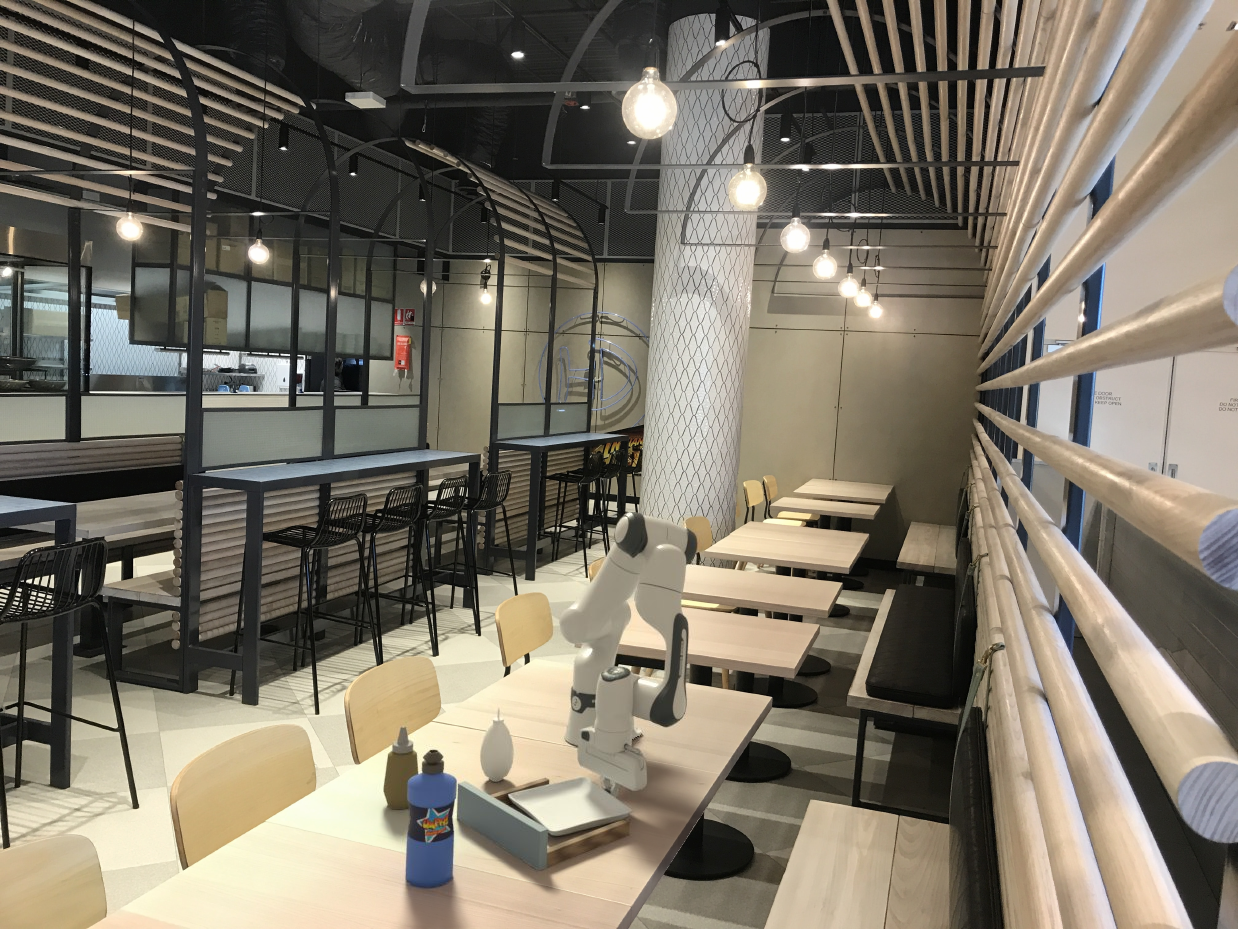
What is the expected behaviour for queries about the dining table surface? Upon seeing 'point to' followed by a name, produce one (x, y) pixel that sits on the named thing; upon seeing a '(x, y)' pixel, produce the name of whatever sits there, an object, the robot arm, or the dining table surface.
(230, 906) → the dining table surface
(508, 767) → the white dust blower
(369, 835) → the dining table surface
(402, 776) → the squeeze bottle
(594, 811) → the salad plate
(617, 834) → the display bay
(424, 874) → the water bottle
